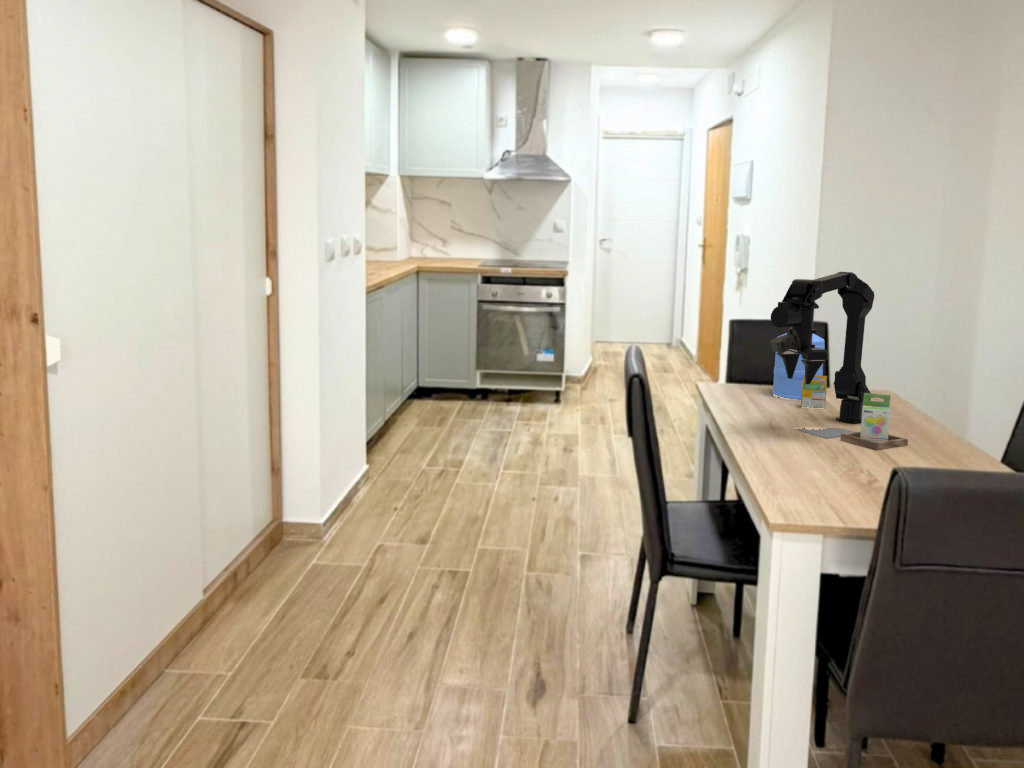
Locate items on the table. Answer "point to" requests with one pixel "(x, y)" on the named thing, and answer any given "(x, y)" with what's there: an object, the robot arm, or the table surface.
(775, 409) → the table surface
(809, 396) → the crayon box
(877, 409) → the ink box
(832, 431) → the mat
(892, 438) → the holder
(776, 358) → the water jug
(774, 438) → the table surface
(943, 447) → the table surface
